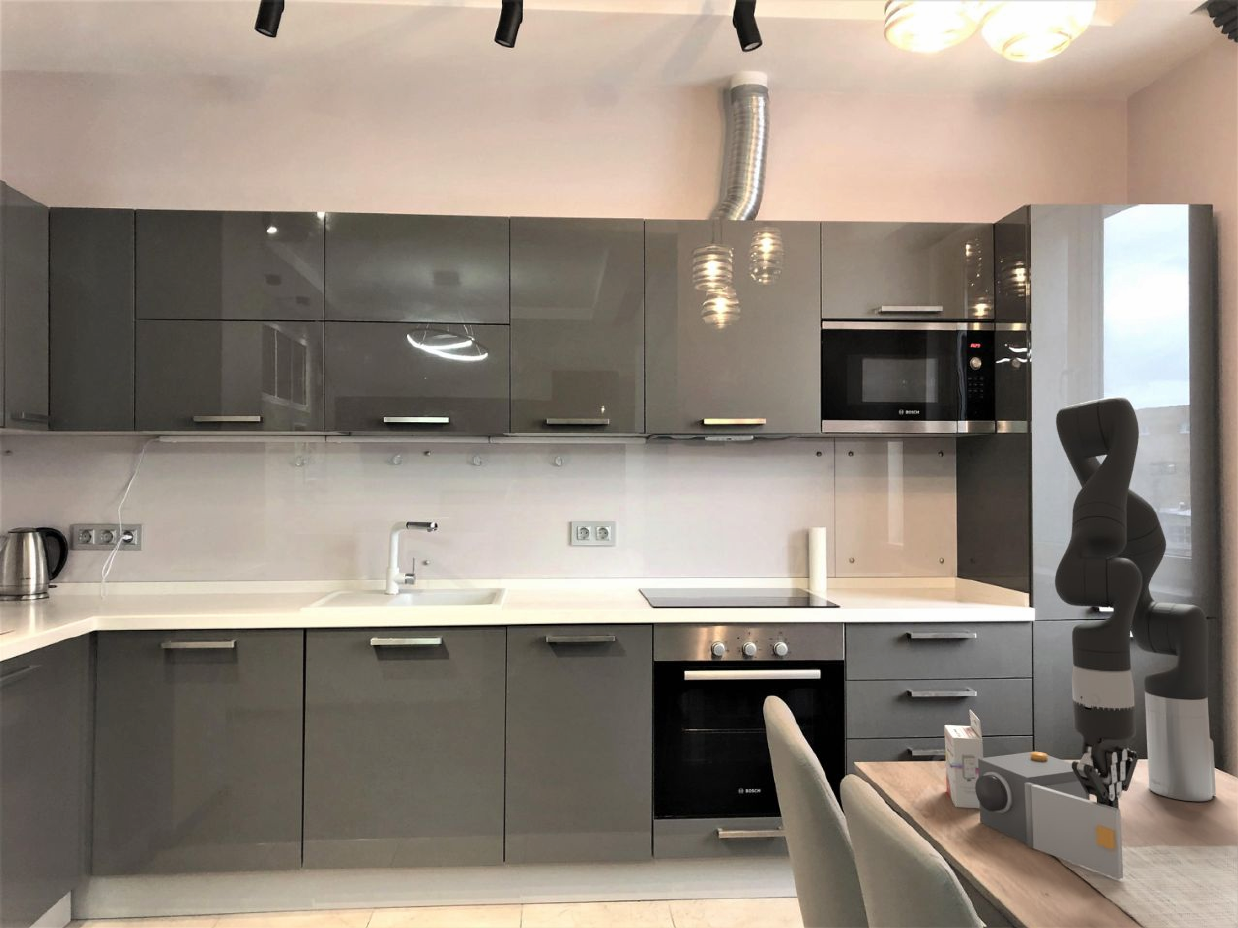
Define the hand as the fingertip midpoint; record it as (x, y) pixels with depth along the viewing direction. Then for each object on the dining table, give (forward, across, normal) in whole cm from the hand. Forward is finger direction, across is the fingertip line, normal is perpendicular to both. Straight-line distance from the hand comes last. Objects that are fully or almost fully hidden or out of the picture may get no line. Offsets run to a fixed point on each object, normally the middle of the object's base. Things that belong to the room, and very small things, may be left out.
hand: (1108, 824), depth 113 cm
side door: (+6, +3, -3) cm, 7 cm away
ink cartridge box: (+6, -6, -28) cm, 29 cm away
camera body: (+6, -4, -14) cm, 16 cm away
